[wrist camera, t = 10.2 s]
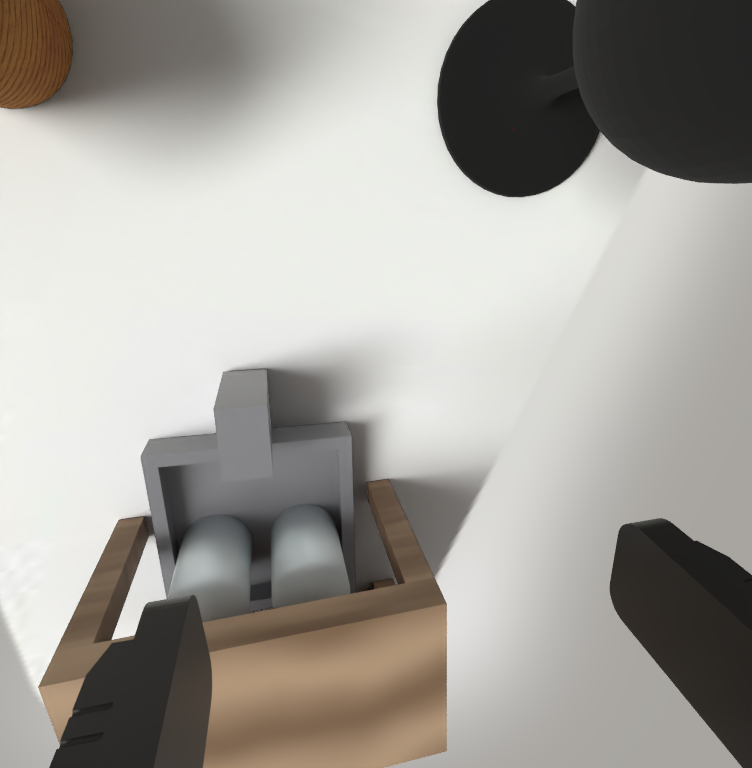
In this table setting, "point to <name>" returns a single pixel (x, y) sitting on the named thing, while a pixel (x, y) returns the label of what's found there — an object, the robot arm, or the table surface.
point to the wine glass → (599, 90)
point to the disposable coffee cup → (32, 51)
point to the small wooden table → (296, 662)
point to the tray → (253, 507)
